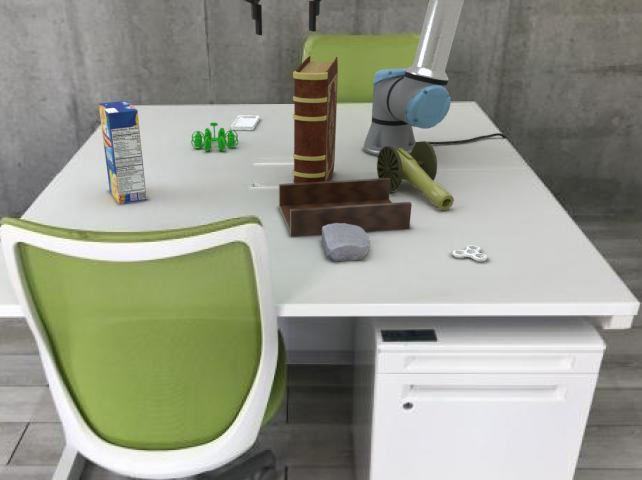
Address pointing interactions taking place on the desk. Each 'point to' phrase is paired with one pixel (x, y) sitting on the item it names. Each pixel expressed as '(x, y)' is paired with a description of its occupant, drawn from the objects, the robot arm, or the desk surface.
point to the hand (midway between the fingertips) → (285, 32)
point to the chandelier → (214, 139)
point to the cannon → (414, 171)
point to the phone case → (245, 123)
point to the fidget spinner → (470, 253)
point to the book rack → (341, 206)
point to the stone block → (345, 242)
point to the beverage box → (123, 151)
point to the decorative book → (315, 120)
